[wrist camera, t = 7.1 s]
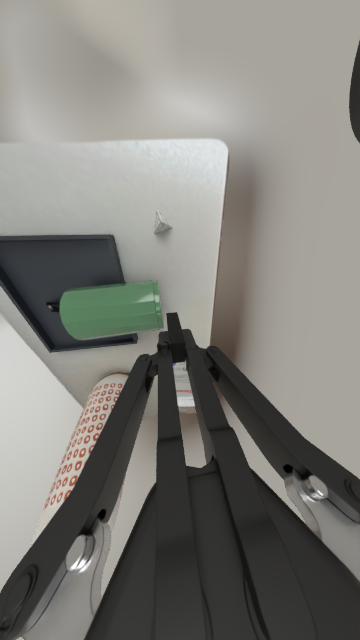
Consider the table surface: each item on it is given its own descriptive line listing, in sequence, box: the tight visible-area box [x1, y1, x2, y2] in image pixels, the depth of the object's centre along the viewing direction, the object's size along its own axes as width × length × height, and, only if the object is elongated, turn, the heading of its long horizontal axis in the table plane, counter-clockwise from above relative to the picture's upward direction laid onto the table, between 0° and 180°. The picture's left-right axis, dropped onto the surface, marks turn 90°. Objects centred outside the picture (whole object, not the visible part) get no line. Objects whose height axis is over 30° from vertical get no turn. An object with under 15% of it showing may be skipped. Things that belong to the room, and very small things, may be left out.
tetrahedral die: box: [154, 210, 172, 233], centre depth 22 cm, size 4×3×3 cm
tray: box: [0, 235, 138, 353], centre depth 27 cm, size 23×20×2 cm
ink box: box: [173, 360, 195, 406], centre depth 37 cm, size 9×5×12 cm, turn 75°
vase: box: [31, 373, 129, 546], centre depth 30 cm, size 13×13×28 cm
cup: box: [59, 281, 164, 340], centre depth 23 cm, size 9×9×14 cm
